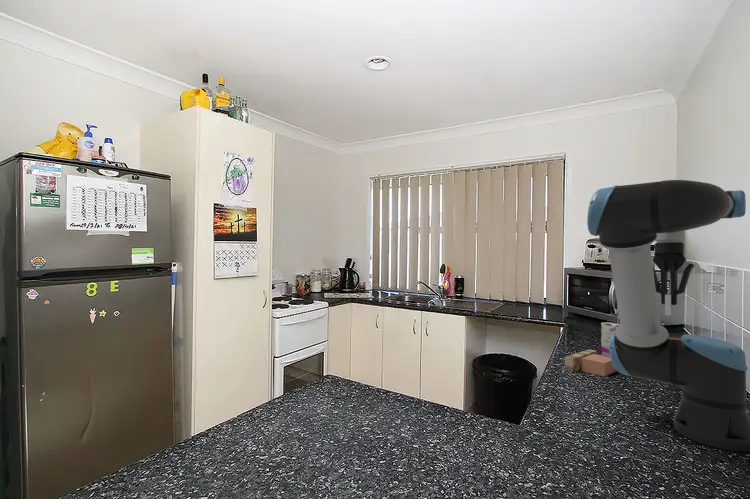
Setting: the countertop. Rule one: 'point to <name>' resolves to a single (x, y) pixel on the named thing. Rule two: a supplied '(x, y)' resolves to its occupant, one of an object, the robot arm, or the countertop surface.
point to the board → (576, 360)
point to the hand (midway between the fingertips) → (669, 314)
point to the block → (598, 365)
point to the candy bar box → (607, 336)
